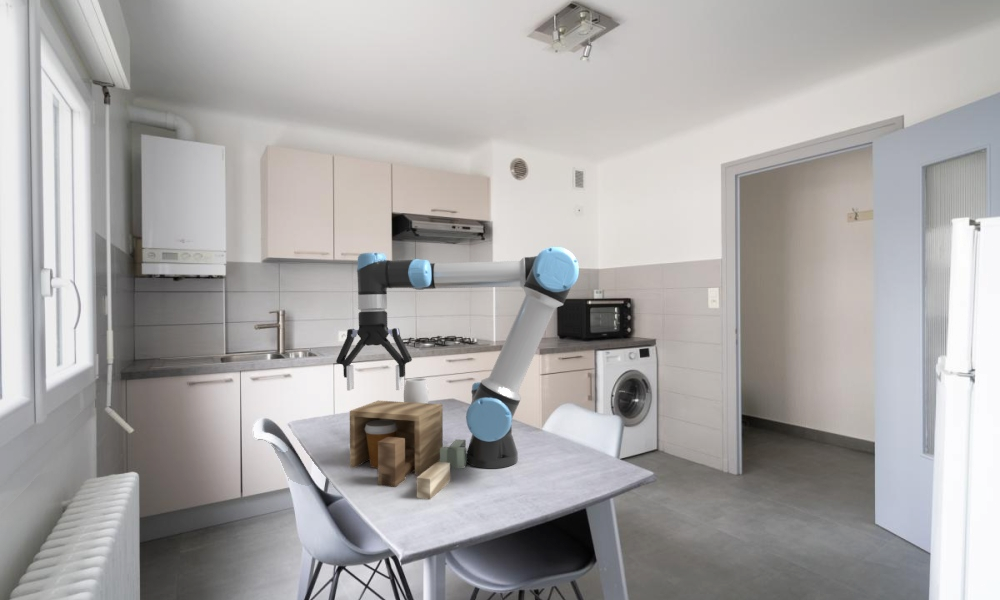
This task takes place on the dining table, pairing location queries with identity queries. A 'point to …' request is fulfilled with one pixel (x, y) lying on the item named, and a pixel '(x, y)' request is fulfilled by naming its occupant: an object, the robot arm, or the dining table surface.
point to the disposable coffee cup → (378, 436)
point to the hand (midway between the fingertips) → (374, 389)
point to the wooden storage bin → (400, 430)
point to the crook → (394, 461)
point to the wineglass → (416, 390)
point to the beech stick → (433, 480)
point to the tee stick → (454, 453)
